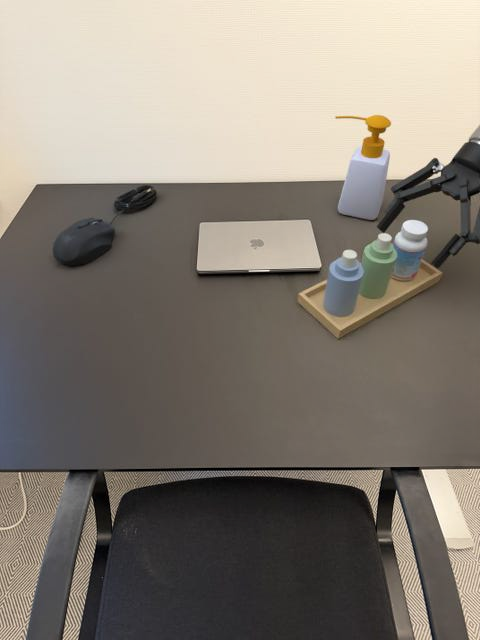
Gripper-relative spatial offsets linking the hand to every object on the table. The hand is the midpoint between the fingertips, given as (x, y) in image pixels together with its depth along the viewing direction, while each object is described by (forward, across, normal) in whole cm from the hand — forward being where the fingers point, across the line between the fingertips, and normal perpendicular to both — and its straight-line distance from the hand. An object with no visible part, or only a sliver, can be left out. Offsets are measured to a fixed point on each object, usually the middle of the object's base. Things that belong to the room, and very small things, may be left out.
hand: (406, 247), depth 90 cm
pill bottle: (+4, 0, -6) cm, 7 cm away
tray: (+11, 0, 0) cm, 11 cm away
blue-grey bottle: (+16, 0, +6) cm, 17 cm away
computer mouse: (+35, +49, +23) cm, 64 cm away
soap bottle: (-2, +24, -13) cm, 28 cm away
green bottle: (+10, 0, 0) cm, 10 cm away
